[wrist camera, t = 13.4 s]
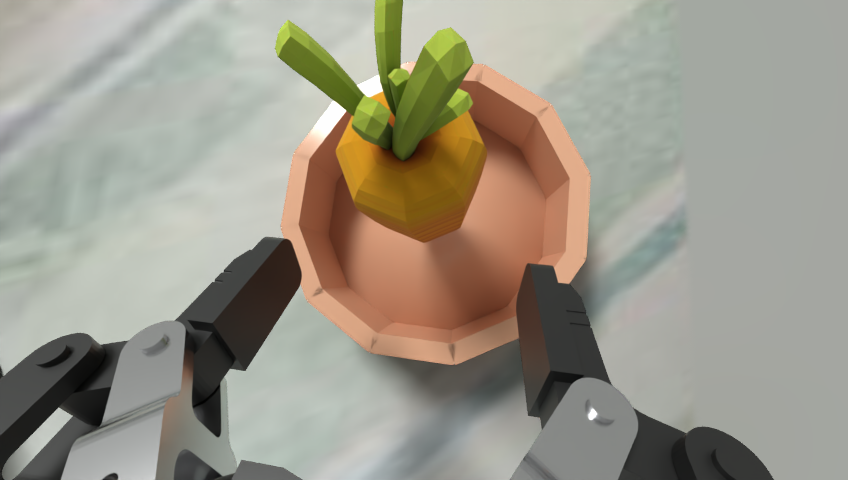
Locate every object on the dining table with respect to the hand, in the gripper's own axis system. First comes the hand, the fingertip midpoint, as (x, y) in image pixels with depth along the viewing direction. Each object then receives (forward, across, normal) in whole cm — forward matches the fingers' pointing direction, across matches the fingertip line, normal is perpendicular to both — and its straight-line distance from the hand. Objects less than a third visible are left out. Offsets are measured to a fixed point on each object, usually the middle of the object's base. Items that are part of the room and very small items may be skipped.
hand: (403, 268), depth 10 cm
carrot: (+9, 0, +4) cm, 10 cm away
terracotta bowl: (+10, 0, +5) cm, 11 cm away
